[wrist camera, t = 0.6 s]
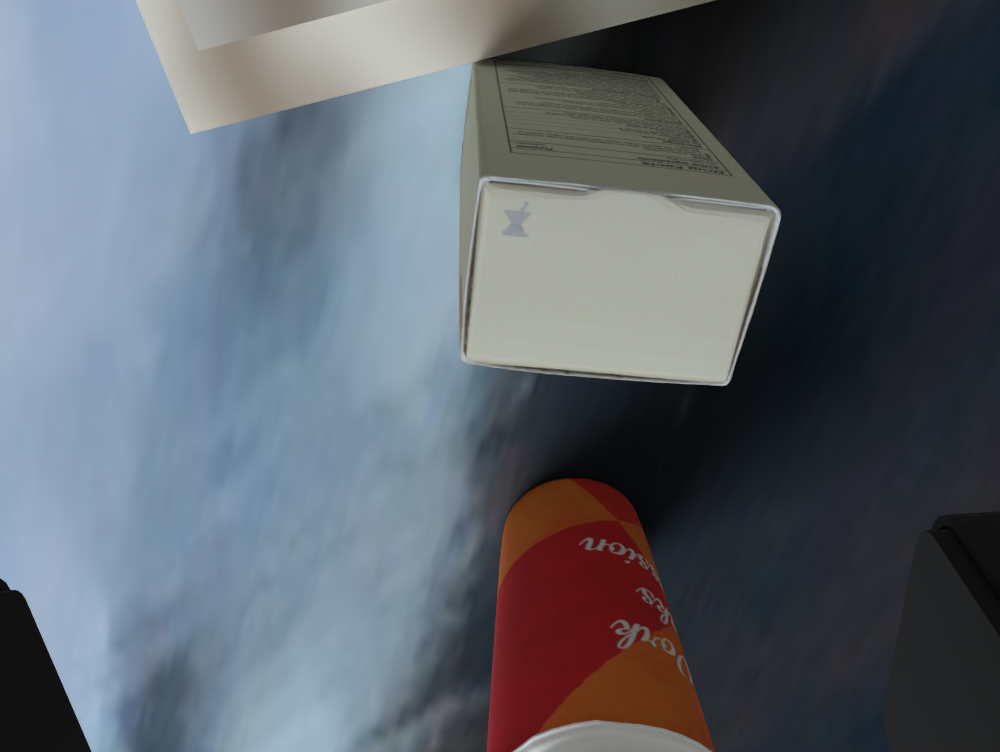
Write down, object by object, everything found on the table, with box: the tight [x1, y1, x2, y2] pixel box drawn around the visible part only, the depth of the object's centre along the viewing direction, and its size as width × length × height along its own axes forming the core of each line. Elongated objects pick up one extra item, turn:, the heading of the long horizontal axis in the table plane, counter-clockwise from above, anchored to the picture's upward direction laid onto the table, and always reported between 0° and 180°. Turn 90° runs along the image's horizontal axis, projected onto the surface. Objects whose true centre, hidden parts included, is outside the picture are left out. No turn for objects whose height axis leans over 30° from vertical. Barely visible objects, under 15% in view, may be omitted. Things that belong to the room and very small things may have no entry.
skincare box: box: [459, 58, 781, 386], centre depth 24 cm, size 6×4×12 cm
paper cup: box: [487, 477, 715, 752], centre depth 31 cm, size 8×8×14 cm
